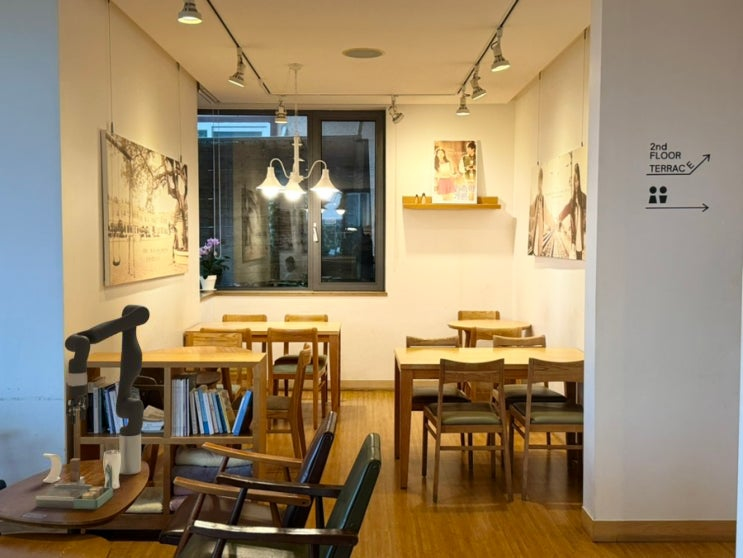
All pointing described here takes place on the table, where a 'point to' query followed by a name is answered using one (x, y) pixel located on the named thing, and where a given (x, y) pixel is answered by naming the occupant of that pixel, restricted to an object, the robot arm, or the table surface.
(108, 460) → the beer glass
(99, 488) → the maple cube
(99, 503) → the chip tray
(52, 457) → the headphone stand
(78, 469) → the rake tool
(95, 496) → the maple cube
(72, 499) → the open box
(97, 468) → the table surface
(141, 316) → the robot arm
